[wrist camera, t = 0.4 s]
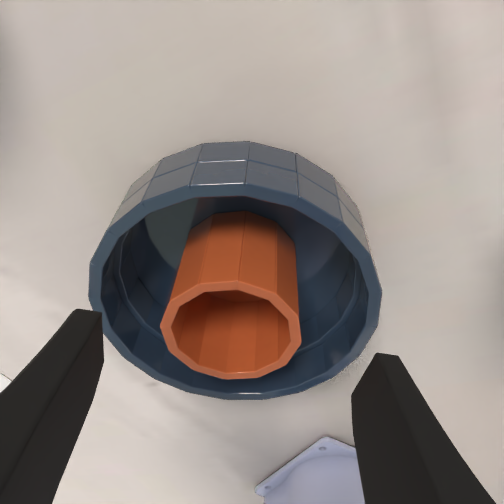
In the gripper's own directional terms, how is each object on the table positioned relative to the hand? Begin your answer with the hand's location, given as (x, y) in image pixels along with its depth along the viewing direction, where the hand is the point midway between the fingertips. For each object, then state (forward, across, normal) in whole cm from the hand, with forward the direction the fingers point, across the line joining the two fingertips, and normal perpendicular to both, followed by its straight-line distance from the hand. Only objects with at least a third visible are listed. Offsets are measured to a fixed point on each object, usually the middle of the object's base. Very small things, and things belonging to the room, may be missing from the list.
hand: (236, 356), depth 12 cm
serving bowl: (+10, 0, +5) cm, 11 cm away
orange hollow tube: (+9, 0, +5) cm, 11 cm away
